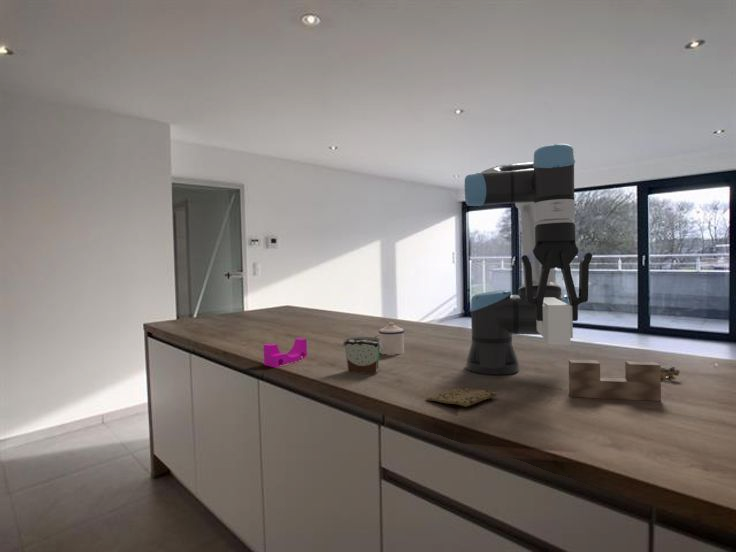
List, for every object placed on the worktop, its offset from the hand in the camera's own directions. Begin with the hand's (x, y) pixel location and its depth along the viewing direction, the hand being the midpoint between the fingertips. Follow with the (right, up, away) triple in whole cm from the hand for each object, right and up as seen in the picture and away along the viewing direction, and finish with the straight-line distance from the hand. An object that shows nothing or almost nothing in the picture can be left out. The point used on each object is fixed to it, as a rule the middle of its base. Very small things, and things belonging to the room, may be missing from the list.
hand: (556, 336), depth 85 cm
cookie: (-17, -17, +12) cm, 27 cm away
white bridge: (+2, -1, +6) cm, 6 cm away
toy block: (-66, -17, +54) cm, 87 cm away
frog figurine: (+37, -15, +25) cm, 47 cm away
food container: (-39, -17, +41) cm, 59 cm away
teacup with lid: (-32, -16, +64) cm, 73 cm away
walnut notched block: (+18, -15, +10) cm, 25 cm away
